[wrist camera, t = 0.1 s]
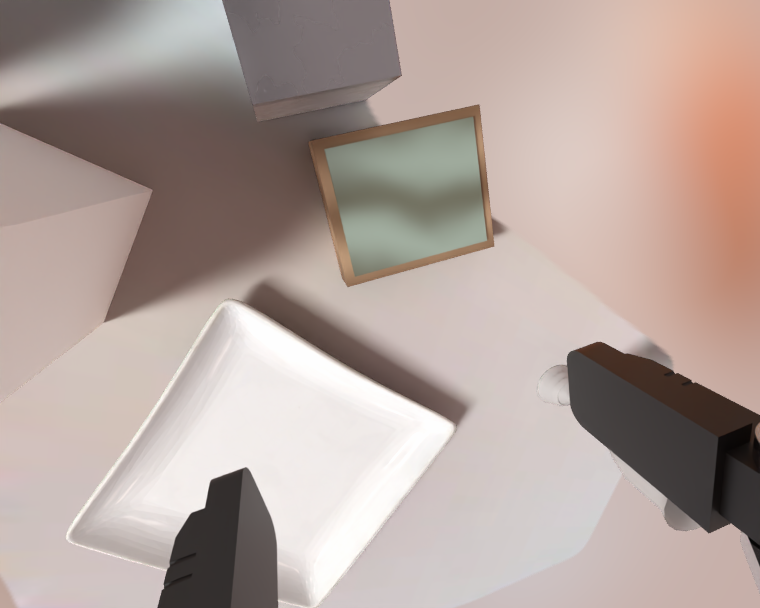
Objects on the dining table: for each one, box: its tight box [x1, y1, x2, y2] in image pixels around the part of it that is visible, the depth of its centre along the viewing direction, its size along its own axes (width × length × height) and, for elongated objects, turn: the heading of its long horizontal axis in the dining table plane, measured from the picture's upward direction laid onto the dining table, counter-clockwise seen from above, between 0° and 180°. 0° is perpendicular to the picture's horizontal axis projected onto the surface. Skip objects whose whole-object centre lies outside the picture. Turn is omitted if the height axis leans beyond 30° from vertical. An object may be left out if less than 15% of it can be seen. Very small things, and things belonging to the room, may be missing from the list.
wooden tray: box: [308, 105, 494, 287], centre depth 36 cm, size 12×14×3 cm
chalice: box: [537, 365, 701, 531], centre depth 41 cm, size 7×7×18 cm
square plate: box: [66, 299, 457, 608], centre depth 41 cm, size 27×27×4 cm
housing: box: [222, 0, 402, 122], centre depth 28 cm, size 6×9×10 cm, turn 102°
